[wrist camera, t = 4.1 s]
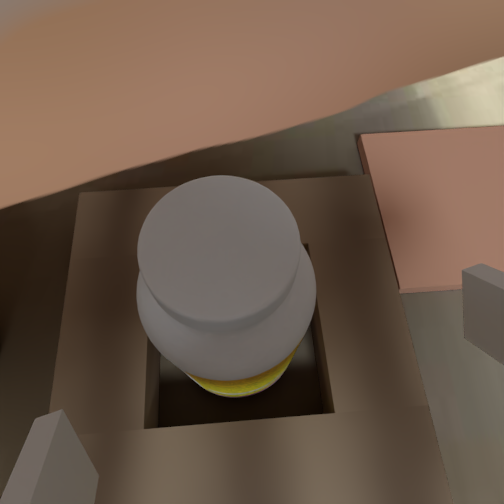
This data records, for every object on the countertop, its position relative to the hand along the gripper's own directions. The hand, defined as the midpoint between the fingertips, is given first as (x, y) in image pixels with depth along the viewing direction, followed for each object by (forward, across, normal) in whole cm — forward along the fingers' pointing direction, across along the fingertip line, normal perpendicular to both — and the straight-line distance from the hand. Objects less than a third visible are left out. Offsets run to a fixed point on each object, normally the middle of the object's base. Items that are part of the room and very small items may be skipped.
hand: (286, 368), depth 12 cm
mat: (+12, +17, -2) cm, 21 cm away
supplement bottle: (+10, -1, -5) cm, 11 cm away
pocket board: (+10, -1, -4) cm, 11 cm away
